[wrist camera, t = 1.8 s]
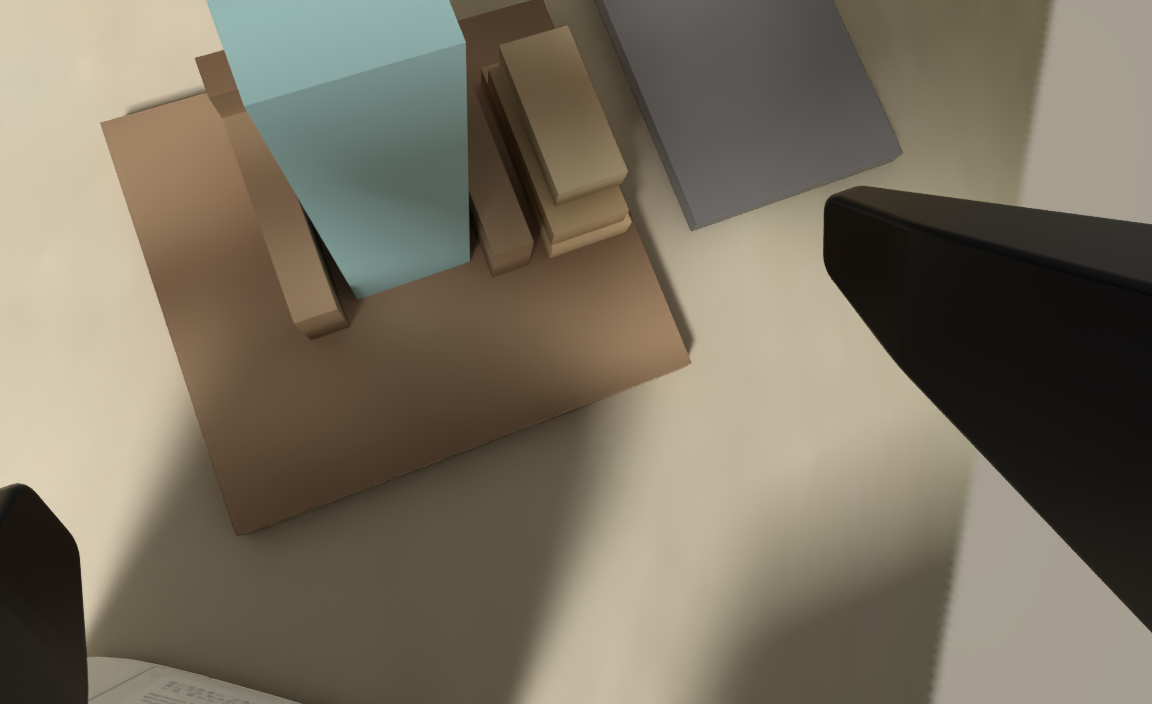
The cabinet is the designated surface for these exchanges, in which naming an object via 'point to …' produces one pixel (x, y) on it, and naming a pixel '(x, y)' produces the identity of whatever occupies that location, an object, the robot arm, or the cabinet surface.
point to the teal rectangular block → (362, 125)
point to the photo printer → (163, 685)
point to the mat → (748, 98)
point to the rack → (407, 312)
